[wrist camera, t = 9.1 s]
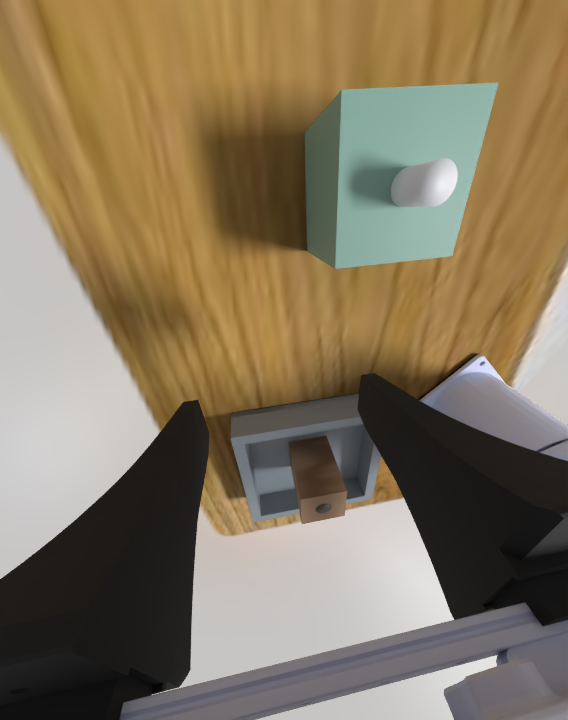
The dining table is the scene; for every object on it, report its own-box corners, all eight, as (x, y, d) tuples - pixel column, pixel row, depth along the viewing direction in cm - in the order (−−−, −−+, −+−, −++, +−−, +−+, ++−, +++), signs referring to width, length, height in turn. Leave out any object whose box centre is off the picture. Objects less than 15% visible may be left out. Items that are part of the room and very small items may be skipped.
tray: (374, 390, 24) (390, 411, 22) (361, 476, 32) (371, 499, 29) (231, 413, 23) (230, 438, 21) (252, 496, 31) (253, 522, 28)
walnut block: (326, 435, 26) (347, 491, 21) (325, 459, 28) (344, 516, 23) (288, 442, 26) (300, 500, 20) (290, 466, 28) (302, 524, 22)
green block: (406, 127, 14) (557, 54, 7) (390, 242, 17) (485, 263, 11) (304, 133, 14) (366, 60, 7) (306, 250, 17) (351, 279, 10)
